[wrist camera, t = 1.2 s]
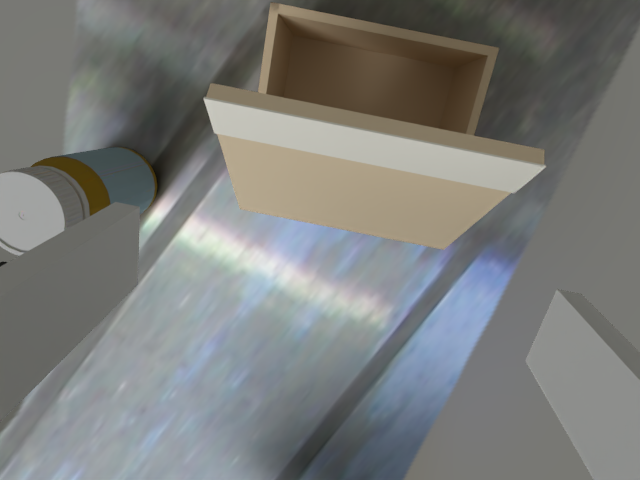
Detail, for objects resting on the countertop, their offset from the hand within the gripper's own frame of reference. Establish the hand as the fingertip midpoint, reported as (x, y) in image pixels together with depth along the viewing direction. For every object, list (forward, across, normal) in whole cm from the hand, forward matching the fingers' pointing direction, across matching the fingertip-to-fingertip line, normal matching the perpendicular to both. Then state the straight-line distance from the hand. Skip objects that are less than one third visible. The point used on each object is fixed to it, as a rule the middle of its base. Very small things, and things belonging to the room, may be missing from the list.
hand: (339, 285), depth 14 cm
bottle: (+30, +22, +8) cm, 38 cm away
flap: (+14, -1, 0) cm, 14 cm away
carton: (+31, 0, -2) cm, 31 cm away
